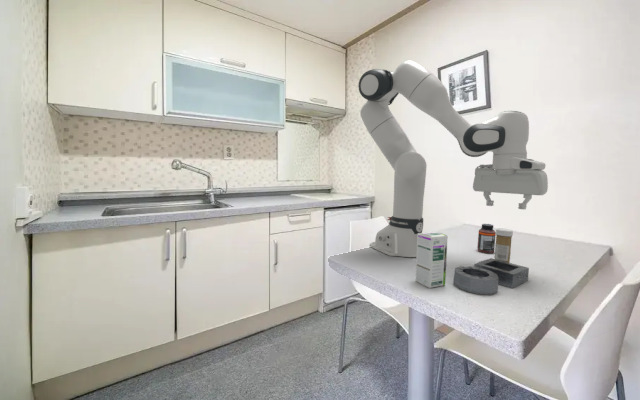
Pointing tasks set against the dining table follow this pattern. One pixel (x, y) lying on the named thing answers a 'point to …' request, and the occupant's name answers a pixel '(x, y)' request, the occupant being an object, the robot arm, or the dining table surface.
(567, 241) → the dining table surface
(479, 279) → the round socket
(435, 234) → the syrup box
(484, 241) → the supplement bottle
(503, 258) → the sprinkles bottle
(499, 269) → the square socket
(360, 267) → the dining table surface
